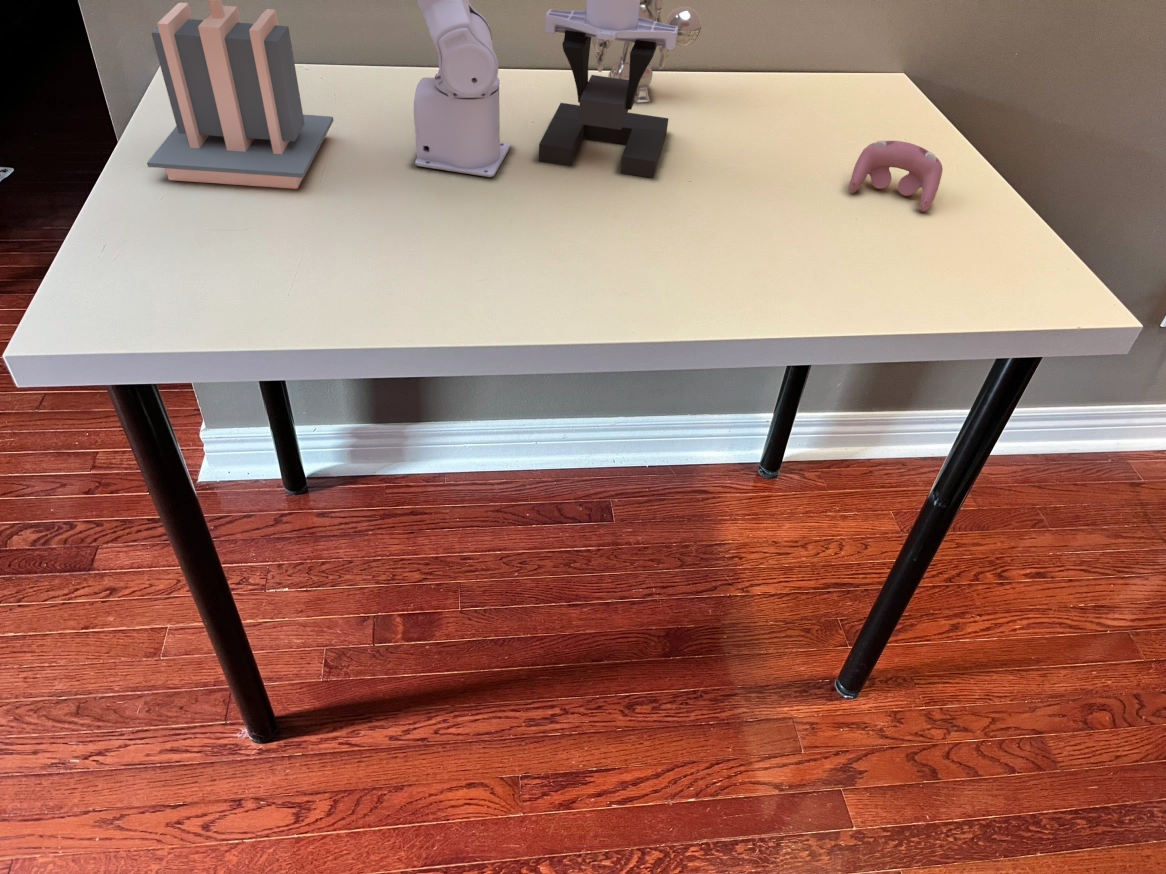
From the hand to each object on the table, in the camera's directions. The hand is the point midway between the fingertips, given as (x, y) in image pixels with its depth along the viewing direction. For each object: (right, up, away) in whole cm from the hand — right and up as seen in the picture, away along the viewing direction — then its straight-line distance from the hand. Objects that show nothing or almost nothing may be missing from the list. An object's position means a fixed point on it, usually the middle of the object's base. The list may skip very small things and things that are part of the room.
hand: (605, 102), depth 103 cm
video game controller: (+34, -10, +2) cm, 36 cm away
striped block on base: (-41, -7, -1) cm, 42 cm away
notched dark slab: (0, -3, +6) cm, 7 cm away
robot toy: (+5, +8, +18) cm, 21 cm away
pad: (0, -1, +1) cm, 1 cm away
